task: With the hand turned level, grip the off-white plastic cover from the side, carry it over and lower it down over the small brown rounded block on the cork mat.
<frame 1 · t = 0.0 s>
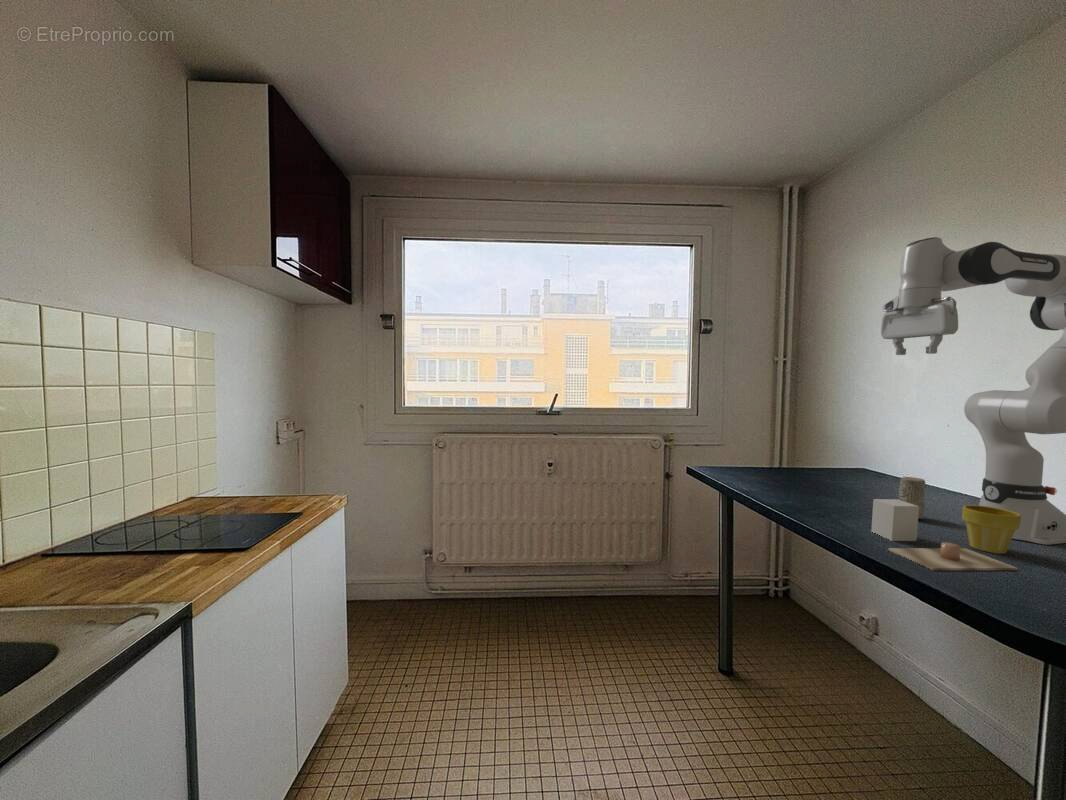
hand: (915, 354, 129), 48 cm above the table, tool pointing down, fingers open, 8 cm apart
plant pot: (987, 549, 120), on the table
brown rounded block: (950, 551, 112), on the cork mat, point 1 cm above the table
plastic cover: (893, 536, 128), on the table
cork mat: (949, 559, 112), on the table
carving: (910, 518, 146), on the table
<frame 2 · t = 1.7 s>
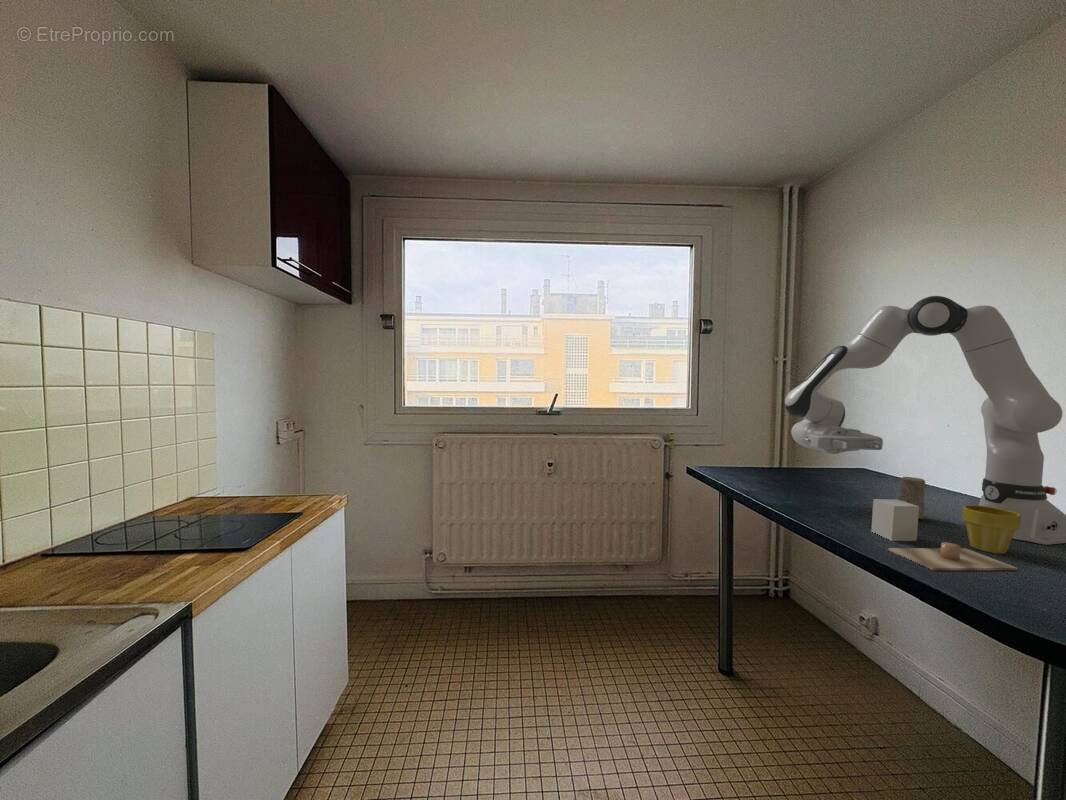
hand: (864, 446, 139), 22 cm above the table, tool horizontal, fingers open, 8 cm apart
nothing on the table moved.
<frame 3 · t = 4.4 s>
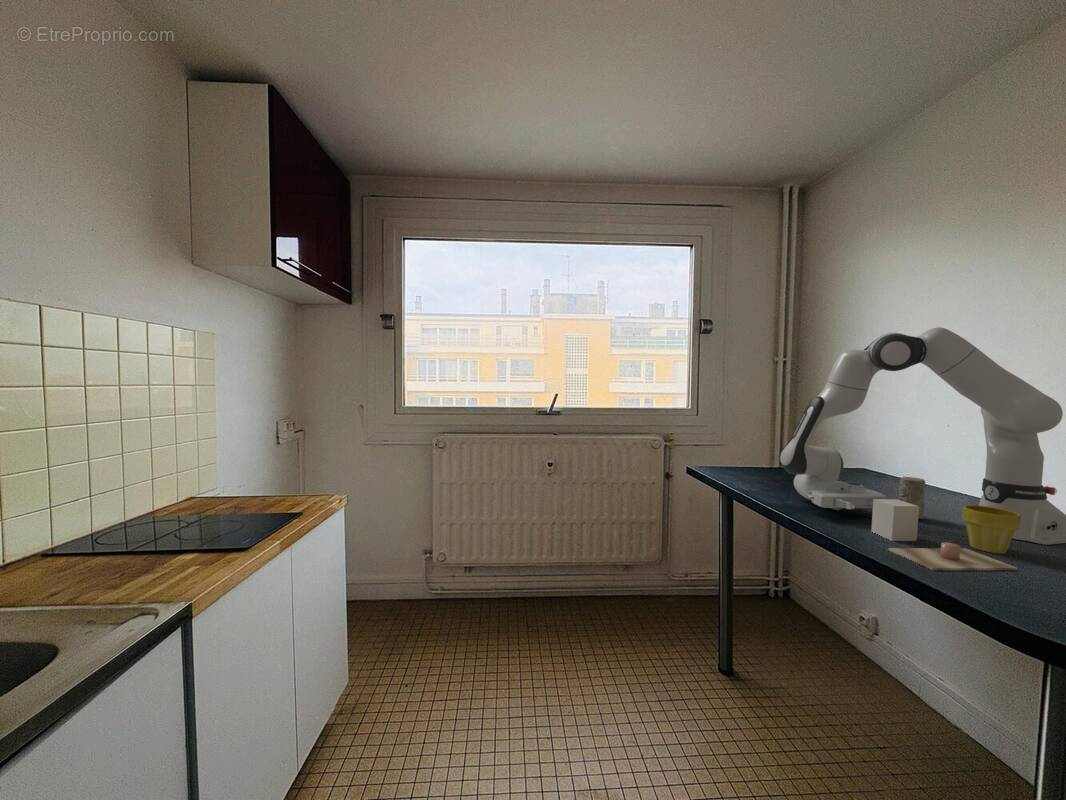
hand: (868, 506, 137), 5 cm above the table, tool horizontal, fingers open, 8 cm apart
nothing on the table moved.
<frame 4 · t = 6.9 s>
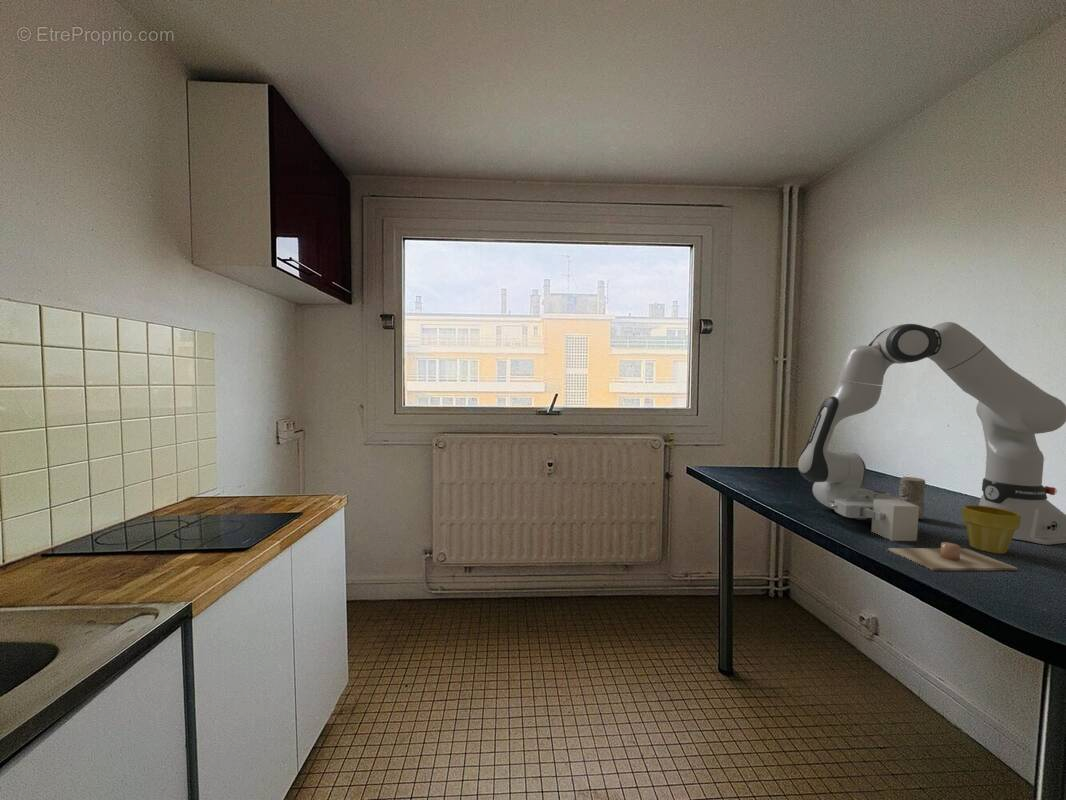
hand: (897, 517, 127), 5 cm above the table, tool horizontal, fingers closed on plastic cover, 7 cm apart
plastic cover: (893, 536, 128), on the table, touching gripper
everything else where it was.
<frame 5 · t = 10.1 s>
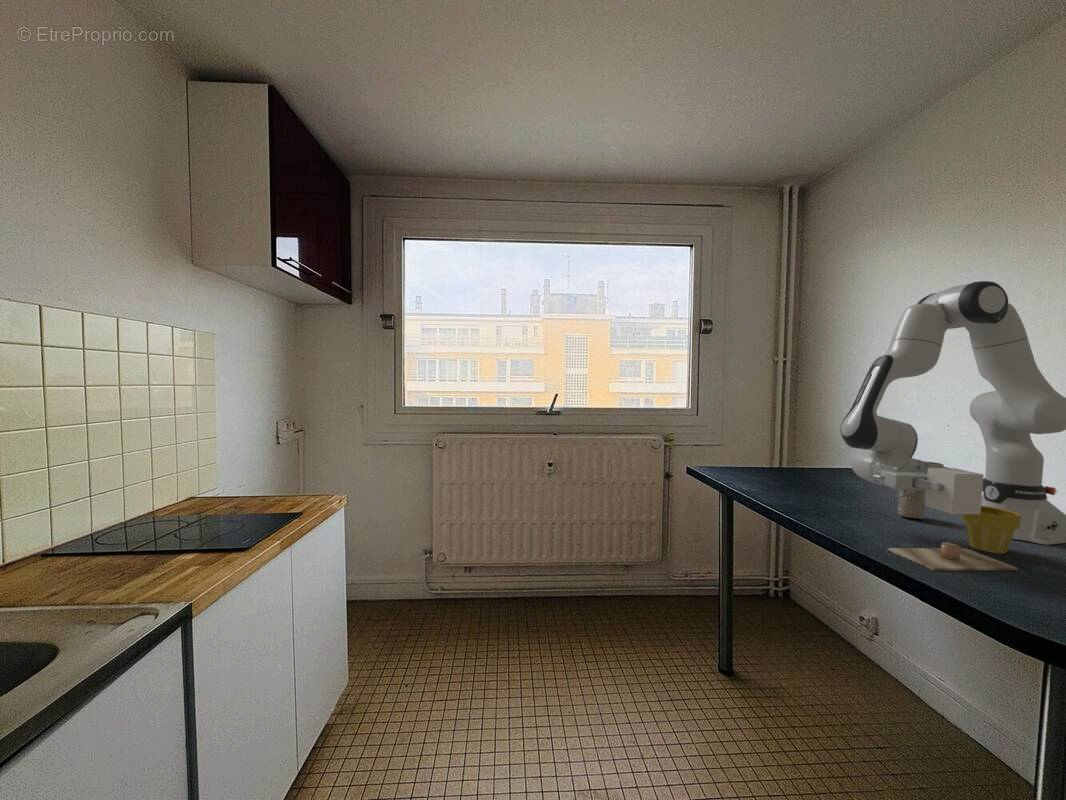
hand: (957, 487, 110), 17 cm above the table, tool horizontal, fingers closed on plastic cover, 7 cm apart
plastic cover: (952, 509, 112), point 12 cm above the table, touching gripper
everything else where it was.
when the fingers open (7 cm above the table, at t = 13.4 s): plastic cover drops 1 cm, resting on cork mat.
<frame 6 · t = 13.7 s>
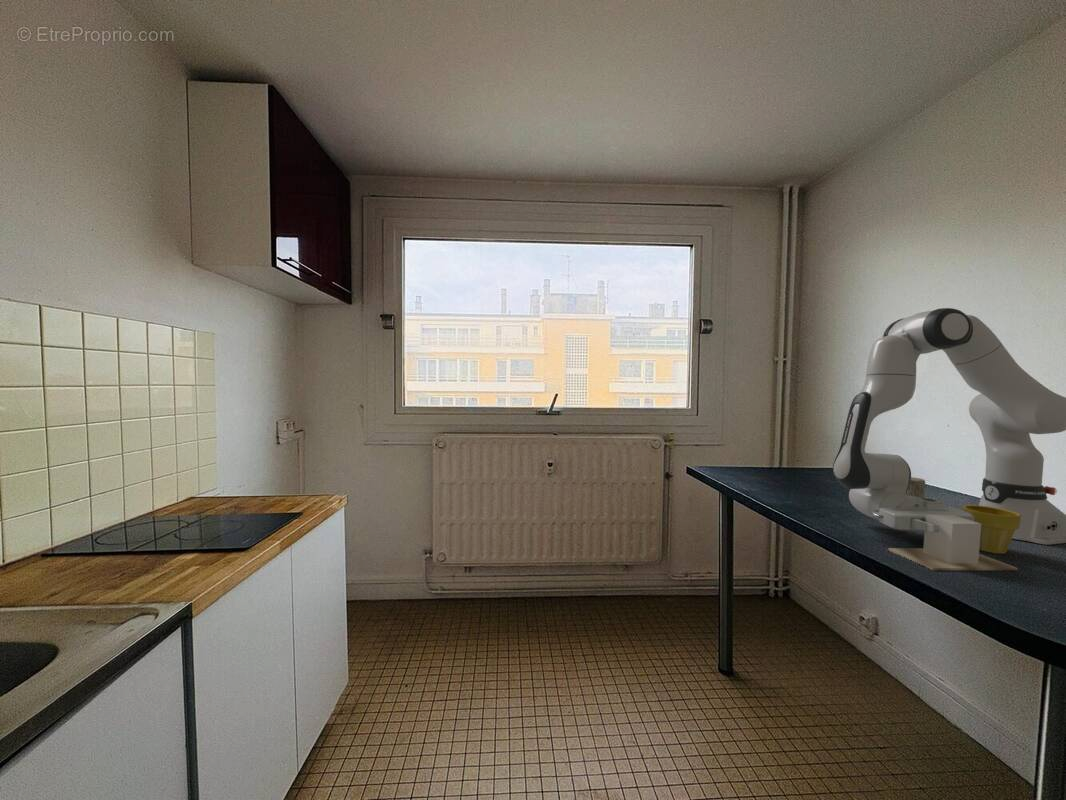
hand: (955, 529, 111), 7 cm above the table, tool horizontal, fingers open, 8 cm apart
plastic cover: (949, 557, 112), resting on cork mat
everything else where it was.
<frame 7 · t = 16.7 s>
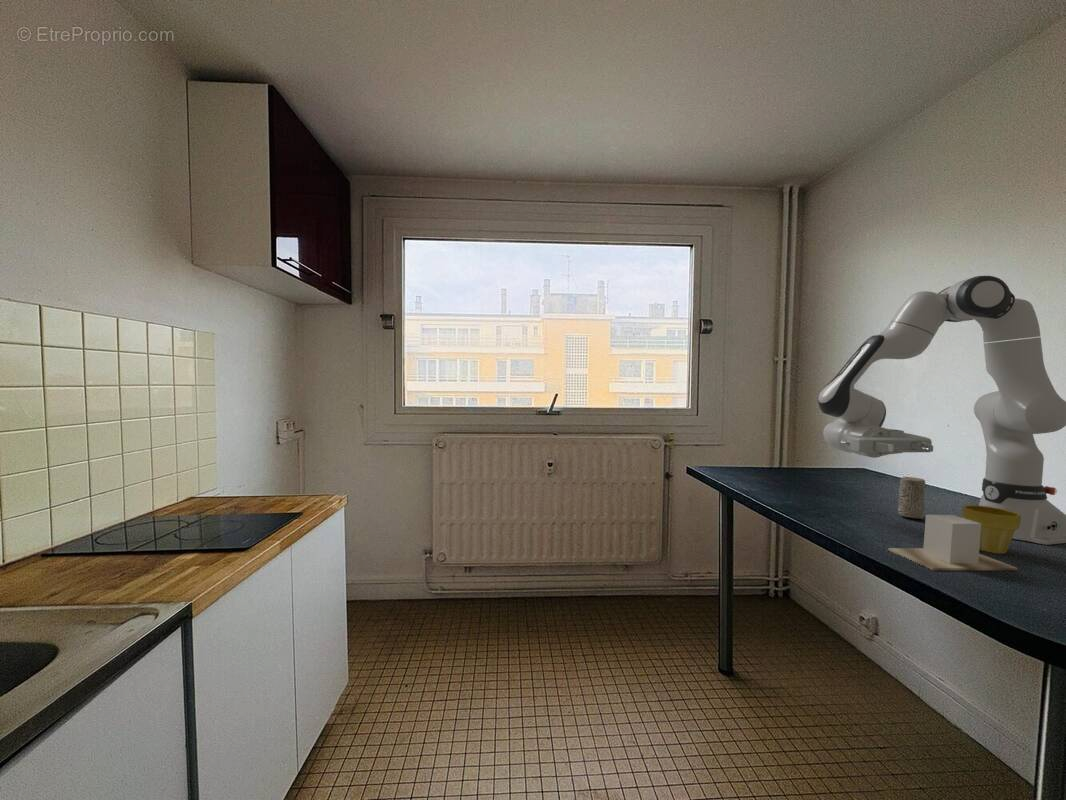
hand: (913, 448, 123), 24 cm above the table, tool horizontal, fingers open, 8 cm apart
nothing on the table moved.
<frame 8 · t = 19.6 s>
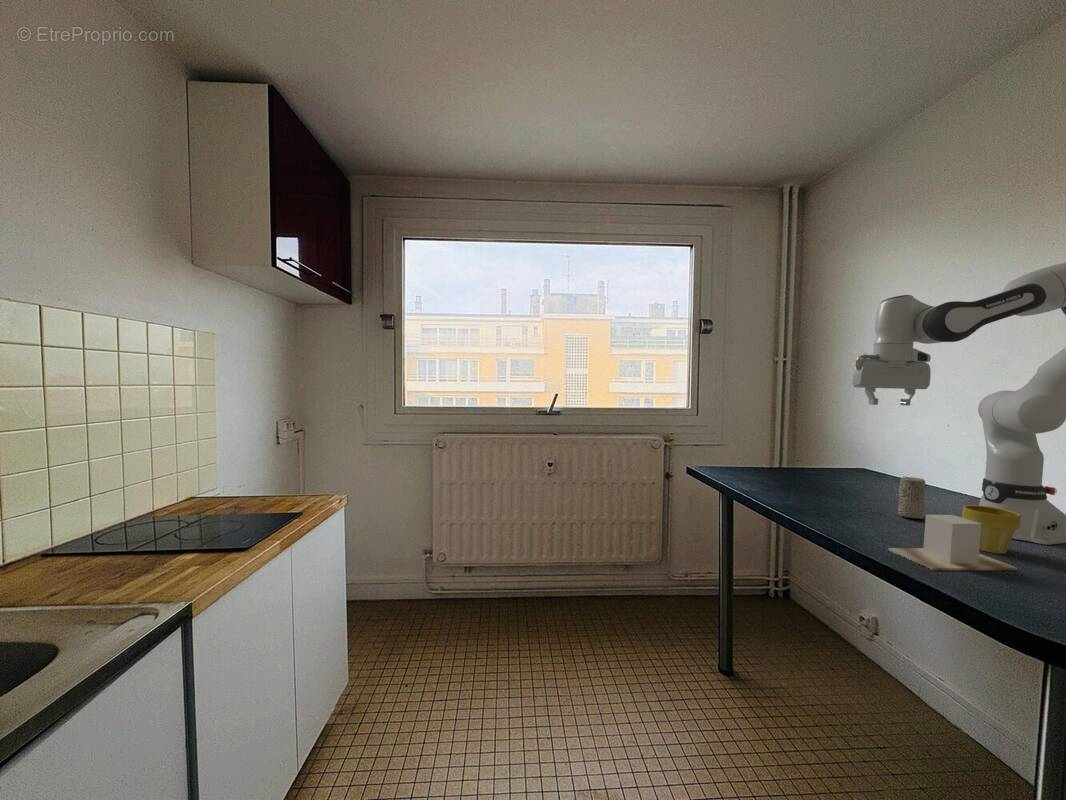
hand: (889, 405, 135), 34 cm above the table, tool pointing down, fingers open, 8 cm apart
nothing on the table moved.
at the end: plastic cover 0.0 cm from the brown rounded block (horizontally); plastic cover point 0.5 cm above the table; plastic cover tilted 0° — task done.
